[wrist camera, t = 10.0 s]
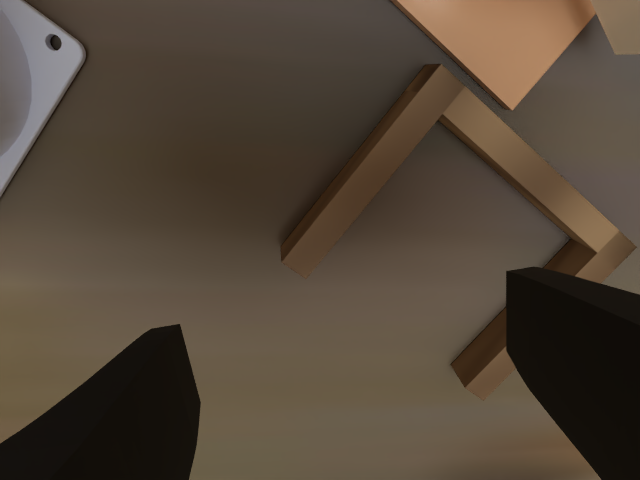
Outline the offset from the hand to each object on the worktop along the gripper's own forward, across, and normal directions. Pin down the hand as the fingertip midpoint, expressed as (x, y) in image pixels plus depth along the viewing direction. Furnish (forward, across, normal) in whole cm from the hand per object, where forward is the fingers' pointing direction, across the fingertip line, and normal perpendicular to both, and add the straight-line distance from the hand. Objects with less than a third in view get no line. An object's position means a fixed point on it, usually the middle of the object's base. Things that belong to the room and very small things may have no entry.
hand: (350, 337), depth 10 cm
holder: (+10, -5, +3) cm, 12 cm away
